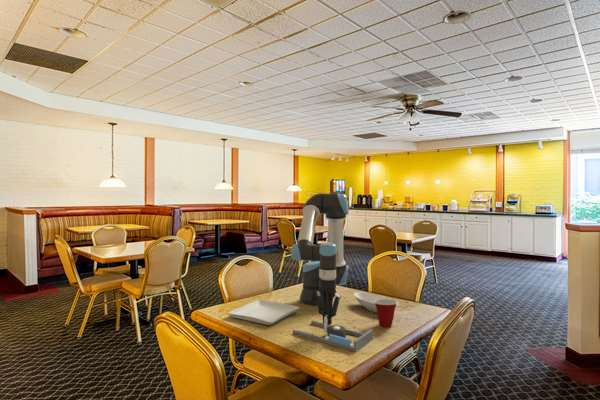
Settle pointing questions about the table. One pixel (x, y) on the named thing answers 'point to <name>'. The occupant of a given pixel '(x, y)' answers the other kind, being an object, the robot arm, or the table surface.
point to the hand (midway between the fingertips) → (327, 331)
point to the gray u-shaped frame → (339, 338)
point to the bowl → (369, 300)
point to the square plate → (263, 311)
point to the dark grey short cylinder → (336, 331)
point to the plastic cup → (385, 311)
